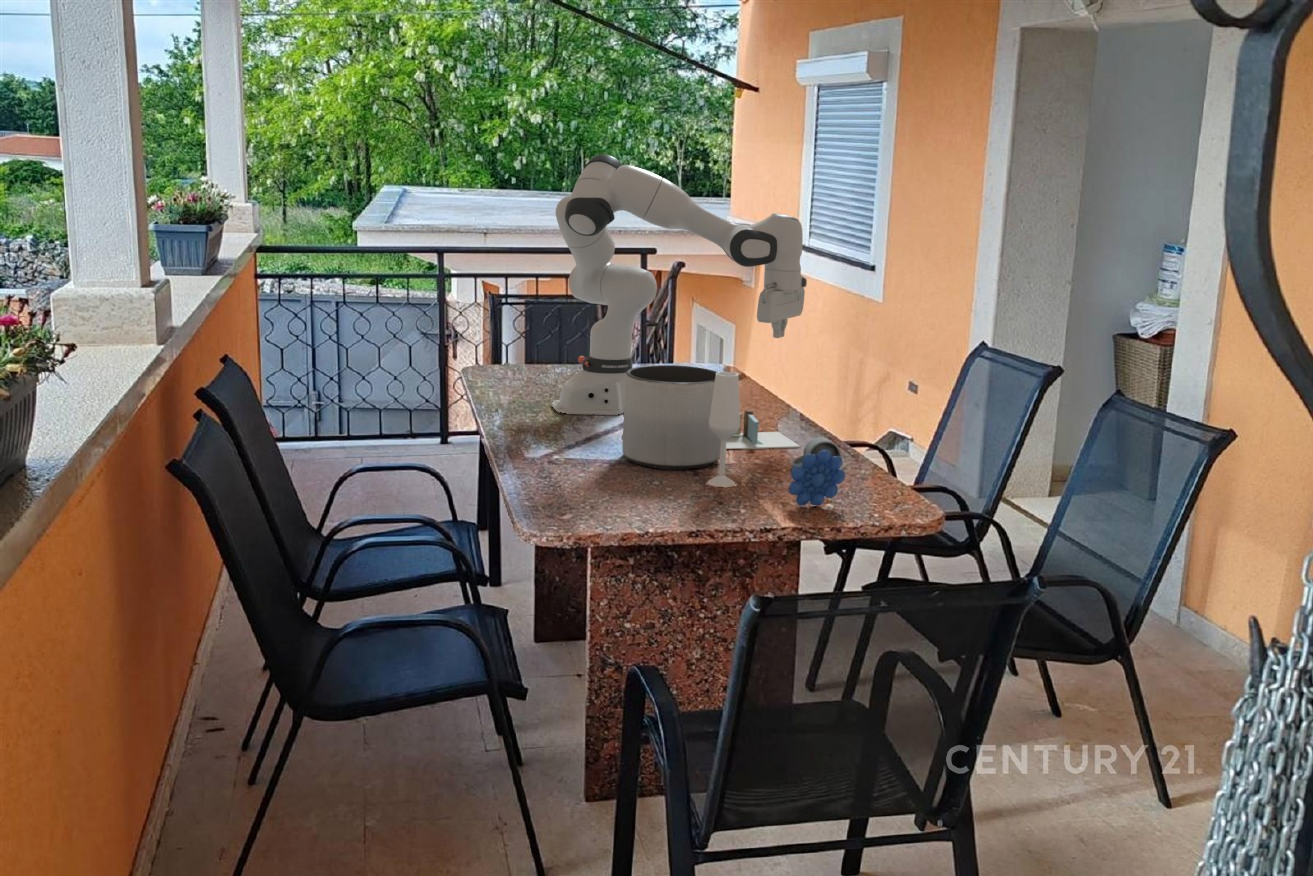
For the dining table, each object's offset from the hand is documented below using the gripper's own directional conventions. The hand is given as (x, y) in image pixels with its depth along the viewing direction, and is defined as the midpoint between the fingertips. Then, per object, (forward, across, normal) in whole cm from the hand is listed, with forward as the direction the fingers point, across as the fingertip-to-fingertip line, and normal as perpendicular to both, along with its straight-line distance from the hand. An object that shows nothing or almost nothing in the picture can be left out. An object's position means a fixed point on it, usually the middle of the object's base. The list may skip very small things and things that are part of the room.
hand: (778, 337), depth 302 cm
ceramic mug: (+26, -25, -22) cm, 42 cm away
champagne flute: (+25, -48, -10) cm, 55 cm away
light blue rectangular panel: (+24, -10, +1) cm, 26 cm away
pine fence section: (+25, -9, +8) cm, 28 cm away
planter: (+25, -36, +9) cm, 45 cm away
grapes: (+25, -51, -32) cm, 65 cm away
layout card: (+25, -9, +2) cm, 27 cm away
